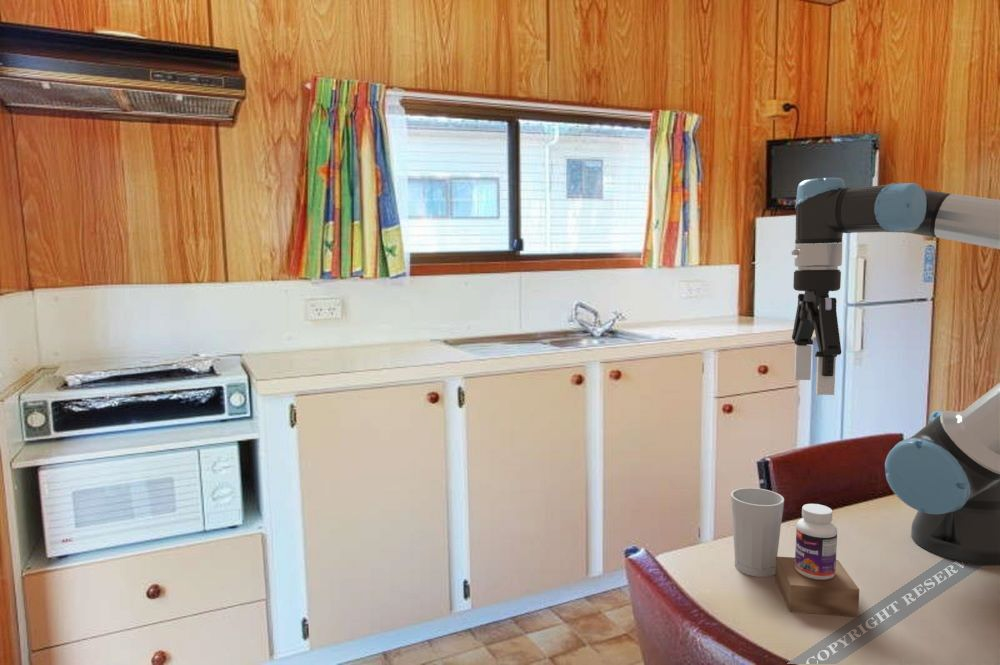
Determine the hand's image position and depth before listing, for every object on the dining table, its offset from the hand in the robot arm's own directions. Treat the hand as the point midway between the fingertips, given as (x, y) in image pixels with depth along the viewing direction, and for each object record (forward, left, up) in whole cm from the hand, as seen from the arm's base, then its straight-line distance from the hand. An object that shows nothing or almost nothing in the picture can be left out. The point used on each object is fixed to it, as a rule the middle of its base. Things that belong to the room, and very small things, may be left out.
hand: (813, 386), depth 118 cm
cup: (+13, +17, -27) cm, 34 cm away
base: (+6, +26, -27) cm, 38 cm away
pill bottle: (+6, +26, -23) cm, 35 cm away
